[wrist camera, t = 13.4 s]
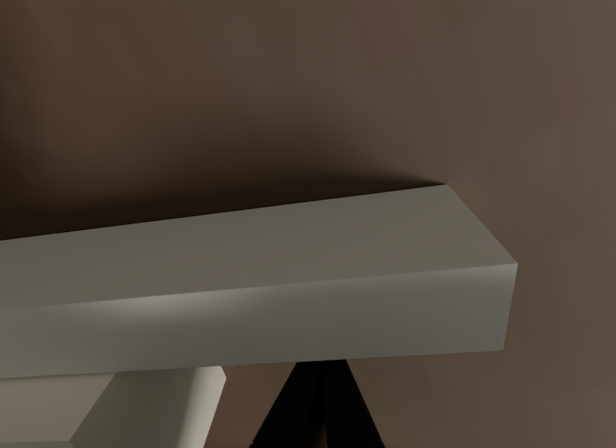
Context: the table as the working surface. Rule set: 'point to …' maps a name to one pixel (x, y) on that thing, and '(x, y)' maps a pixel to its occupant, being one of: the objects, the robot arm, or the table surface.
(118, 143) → the table surface
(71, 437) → the cream matte cube
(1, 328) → the wall board
